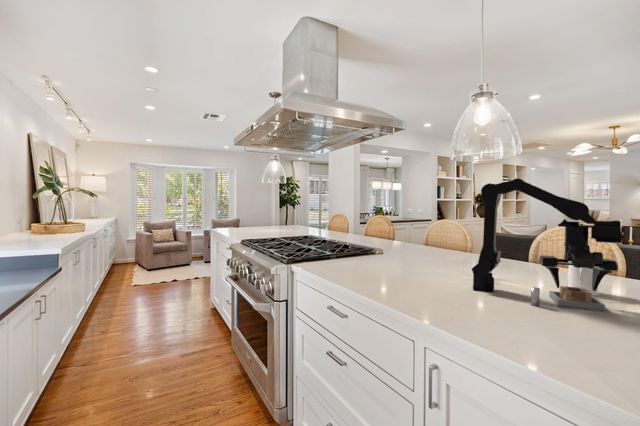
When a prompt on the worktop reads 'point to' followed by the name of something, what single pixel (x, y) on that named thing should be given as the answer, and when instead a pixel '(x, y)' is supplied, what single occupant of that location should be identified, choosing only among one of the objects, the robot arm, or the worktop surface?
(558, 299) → the tray
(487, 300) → the worktop surface
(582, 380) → the worktop surface
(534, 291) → the post
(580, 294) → the brown square socket block
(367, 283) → the worktop surface
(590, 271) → the mug
